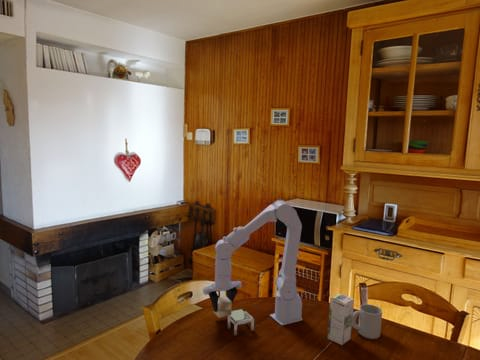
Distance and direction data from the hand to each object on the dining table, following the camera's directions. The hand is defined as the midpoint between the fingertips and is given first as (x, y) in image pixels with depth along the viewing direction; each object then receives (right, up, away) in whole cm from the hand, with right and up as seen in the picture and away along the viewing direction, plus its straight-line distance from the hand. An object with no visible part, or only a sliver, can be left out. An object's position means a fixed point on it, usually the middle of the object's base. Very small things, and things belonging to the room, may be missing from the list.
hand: (222, 309), depth 128 cm
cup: (+50, -6, -6) cm, 51 cm away
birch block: (0, -1, 0) cm, 1 cm away
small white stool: (+7, -5, -5) cm, 10 cm away
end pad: (+6, -4, +3) cm, 8 cm away
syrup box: (+40, -7, -10) cm, 42 cm away
